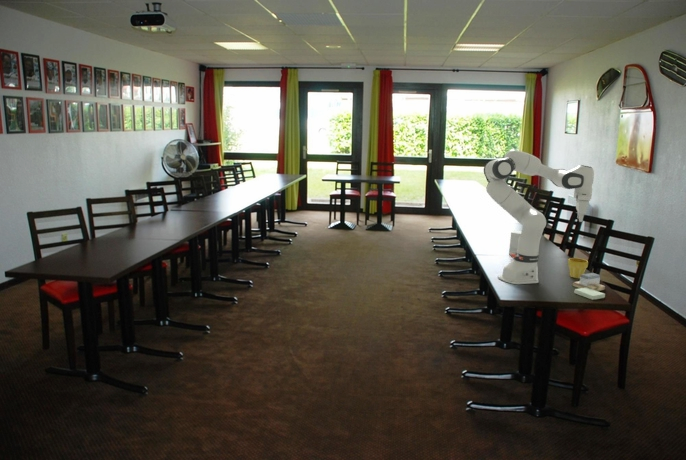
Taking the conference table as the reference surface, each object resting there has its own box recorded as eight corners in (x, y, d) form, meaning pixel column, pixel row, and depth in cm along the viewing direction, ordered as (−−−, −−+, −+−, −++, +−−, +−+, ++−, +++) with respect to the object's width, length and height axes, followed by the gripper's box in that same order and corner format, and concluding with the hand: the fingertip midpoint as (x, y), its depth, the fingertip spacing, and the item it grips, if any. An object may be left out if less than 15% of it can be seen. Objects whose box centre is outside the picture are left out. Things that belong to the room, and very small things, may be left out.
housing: (586, 286, 284) (587, 276, 283) (579, 283, 288) (580, 274, 287) (599, 284, 289) (600, 275, 287) (591, 281, 292) (593, 272, 291)
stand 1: (590, 292, 281) (591, 288, 281) (572, 285, 291) (573, 282, 290) (604, 289, 286) (605, 286, 286) (586, 283, 296) (587, 280, 295)
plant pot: (563, 276, 308) (565, 259, 306) (569, 273, 315) (572, 256, 313) (582, 280, 301) (584, 263, 299) (588, 277, 309) (590, 260, 307)
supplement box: (526, 254, 355) (528, 232, 352) (522, 257, 348) (525, 234, 344) (512, 252, 360) (514, 230, 357) (508, 254, 352) (510, 232, 349)
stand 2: (592, 299, 269) (593, 295, 268) (574, 293, 278) (574, 289, 278) (604, 297, 273) (605, 293, 273) (585, 291, 283) (586, 287, 282)
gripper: (574, 192, 306) (572, 216, 309) (578, 197, 287) (575, 222, 290) (587, 193, 304) (584, 217, 307) (591, 198, 285) (587, 223, 288)
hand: (579, 220), depth 298 cm, fingers open, 8 cm apart
